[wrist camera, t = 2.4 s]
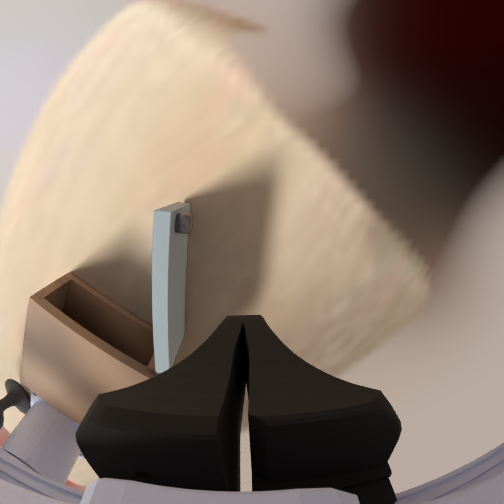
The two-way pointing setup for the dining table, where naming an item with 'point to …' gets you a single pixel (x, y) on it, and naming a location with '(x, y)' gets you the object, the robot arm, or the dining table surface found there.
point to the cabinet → (82, 346)
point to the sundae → (14, 399)
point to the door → (169, 280)
